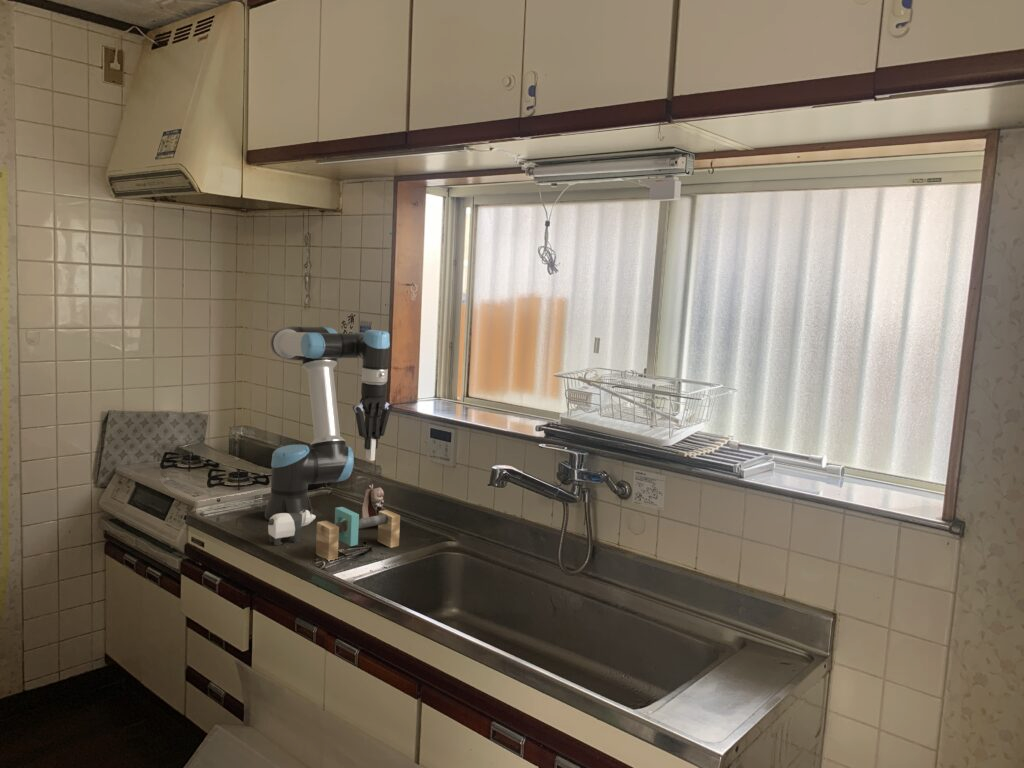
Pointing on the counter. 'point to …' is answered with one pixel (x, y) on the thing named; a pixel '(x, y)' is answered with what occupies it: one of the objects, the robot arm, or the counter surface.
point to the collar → (353, 525)
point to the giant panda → (288, 525)
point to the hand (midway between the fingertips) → (370, 459)
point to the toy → (367, 504)
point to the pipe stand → (385, 521)
